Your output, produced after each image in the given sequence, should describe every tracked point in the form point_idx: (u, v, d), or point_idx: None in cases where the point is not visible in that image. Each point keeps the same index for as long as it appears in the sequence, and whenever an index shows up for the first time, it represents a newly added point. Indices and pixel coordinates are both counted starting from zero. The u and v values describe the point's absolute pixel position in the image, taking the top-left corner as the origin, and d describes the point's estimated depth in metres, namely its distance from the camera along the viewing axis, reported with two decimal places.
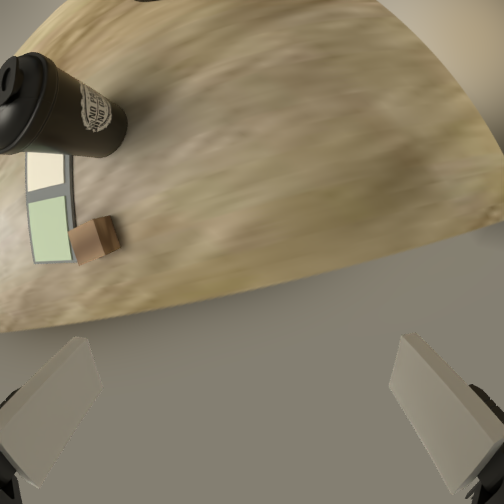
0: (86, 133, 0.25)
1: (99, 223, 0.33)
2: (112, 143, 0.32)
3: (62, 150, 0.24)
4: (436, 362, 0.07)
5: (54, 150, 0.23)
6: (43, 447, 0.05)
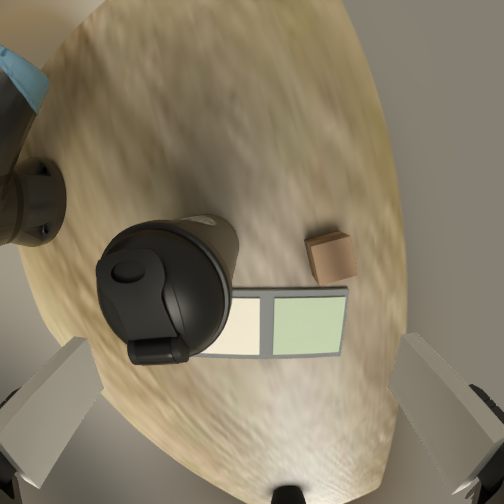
0: (217, 228, 0.27)
1: (314, 243, 0.34)
2: (227, 224, 0.34)
3: (232, 258, 0.27)
4: (436, 362, 0.07)
5: (232, 263, 0.25)
6: (43, 447, 0.05)
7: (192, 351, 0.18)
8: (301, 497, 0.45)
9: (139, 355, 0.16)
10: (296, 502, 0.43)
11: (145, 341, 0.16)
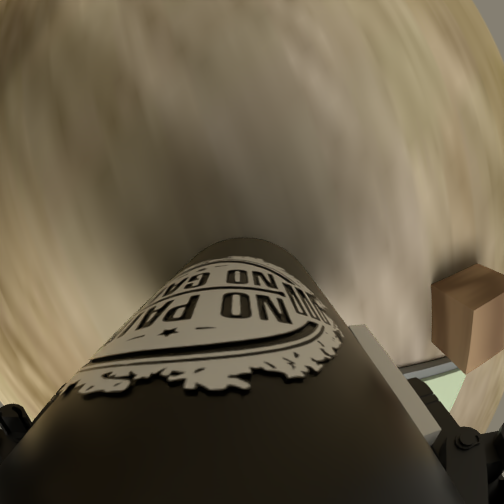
0: (349, 333, 0.06)
1: (469, 298, 0.13)
2: (303, 268, 0.13)
3: None
4: (376, 352, 0.09)
5: None
6: None
7: None
8: None
9: None
10: None
11: None
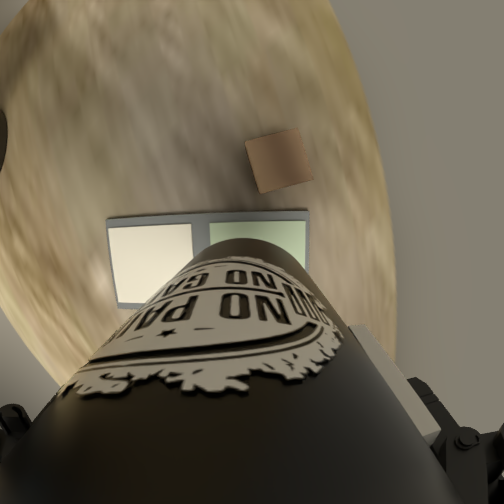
0: (349, 334, 0.06)
1: None
2: (302, 268, 0.13)
3: None
4: (376, 352, 0.09)
5: None
6: None
7: None
8: None
9: None
10: None
11: None
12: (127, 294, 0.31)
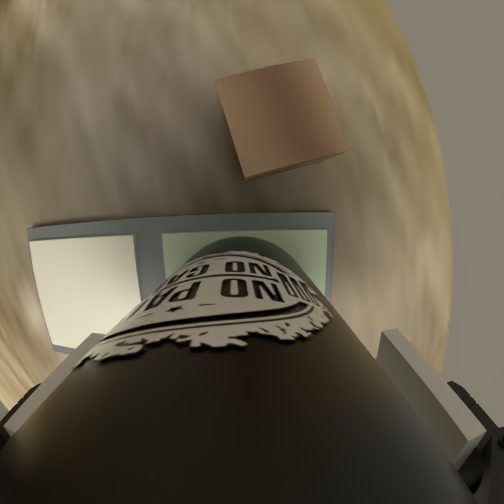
0: (338, 316, 0.07)
1: None
2: (297, 264, 0.14)
3: None
4: (414, 358, 0.08)
5: None
6: None
7: None
8: None
9: None
10: None
11: None
12: (60, 335, 0.18)
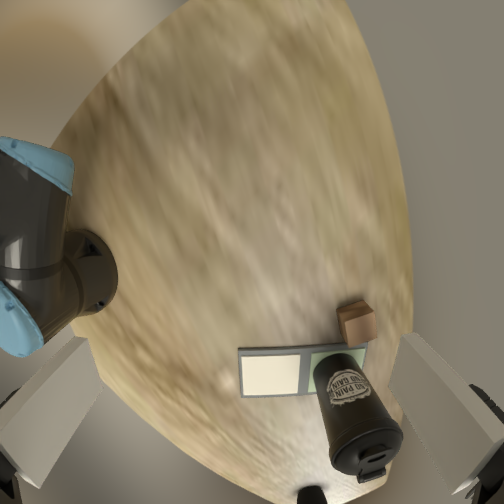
0: (371, 387, 0.35)
1: (346, 316, 0.41)
2: (357, 364, 0.43)
3: None
4: (436, 362, 0.07)
5: None
6: (43, 447, 0.05)
7: None
8: (322, 495, 0.53)
9: (365, 480, 0.24)
10: (319, 499, 0.51)
11: (369, 474, 0.24)
12: (251, 391, 0.47)
